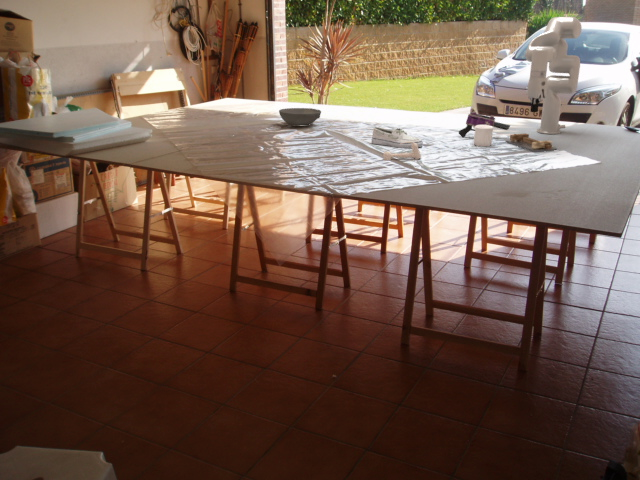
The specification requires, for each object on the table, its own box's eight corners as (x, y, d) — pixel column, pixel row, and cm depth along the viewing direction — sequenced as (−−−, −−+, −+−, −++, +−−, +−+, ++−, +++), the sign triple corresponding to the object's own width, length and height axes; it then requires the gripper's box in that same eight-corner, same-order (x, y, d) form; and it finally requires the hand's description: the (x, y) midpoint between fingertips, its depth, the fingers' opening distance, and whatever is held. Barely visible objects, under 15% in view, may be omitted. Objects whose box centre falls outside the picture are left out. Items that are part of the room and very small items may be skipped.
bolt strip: (526, 140, 319) (526, 138, 318) (557, 150, 296) (557, 148, 295) (505, 142, 316) (505, 140, 315) (534, 152, 292) (534, 150, 292)
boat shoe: (419, 149, 304) (420, 131, 300) (367, 145, 315) (367, 127, 312) (425, 145, 312) (425, 127, 309) (374, 141, 324) (374, 124, 321)
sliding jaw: (547, 146, 299) (548, 139, 298) (551, 147, 296) (552, 140, 295) (531, 147, 297) (531, 141, 295) (534, 148, 294) (535, 142, 293)
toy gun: (503, 147, 326) (512, 121, 320) (457, 136, 329) (465, 110, 323) (502, 146, 329) (511, 120, 323) (457, 135, 332) (465, 109, 326)
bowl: (278, 123, 383) (278, 107, 379) (318, 121, 385) (318, 106, 382) (280, 130, 359) (279, 114, 355) (323, 128, 361) (323, 112, 358)
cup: (481, 147, 305) (483, 128, 301) (468, 144, 313) (470, 125, 310) (495, 145, 309) (497, 126, 306) (482, 142, 317) (484, 124, 314)
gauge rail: (523, 140, 318) (524, 132, 317) (553, 150, 295) (554, 141, 293) (507, 142, 316) (508, 133, 314) (536, 152, 293) (537, 143, 291)
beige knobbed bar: (386, 168, 288) (379, 149, 285) (420, 155, 286) (414, 136, 283) (387, 170, 285) (380, 151, 281) (421, 157, 283) (416, 138, 279)
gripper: (554, 75, 284) (549, 113, 291) (535, 72, 297) (531, 109, 304) (540, 76, 282) (536, 114, 289) (522, 73, 295) (519, 110, 302)
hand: (534, 111), depth 296 cm, fingers closed
